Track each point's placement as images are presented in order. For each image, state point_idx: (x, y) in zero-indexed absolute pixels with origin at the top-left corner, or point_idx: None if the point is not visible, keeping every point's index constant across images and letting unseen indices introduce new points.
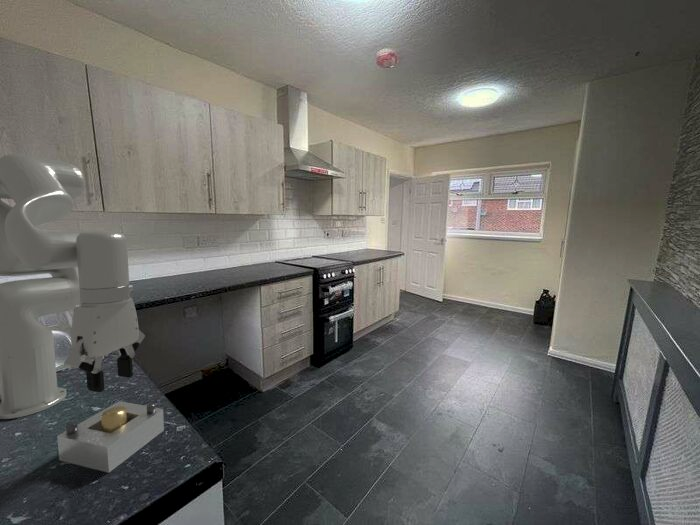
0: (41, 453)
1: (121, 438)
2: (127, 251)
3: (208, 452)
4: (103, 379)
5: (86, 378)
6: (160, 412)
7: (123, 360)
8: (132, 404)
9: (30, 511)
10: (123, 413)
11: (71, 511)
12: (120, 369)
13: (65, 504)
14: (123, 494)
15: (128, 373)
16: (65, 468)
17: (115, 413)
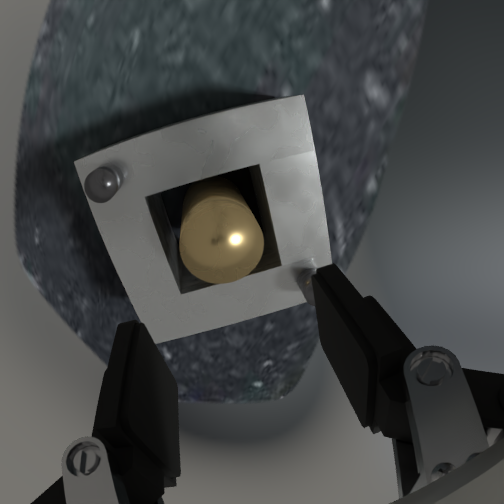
0: (88, 66)
1: (191, 333)
2: None
3: (297, 382)
4: (177, 433)
5: (96, 413)
6: None
7: (364, 402)
8: (312, 172)
9: (43, 278)
10: (239, 277)
11: (91, 334)
12: (331, 324)
13: (85, 311)
14: None
15: (329, 360)
16: None
17: (219, 265)
